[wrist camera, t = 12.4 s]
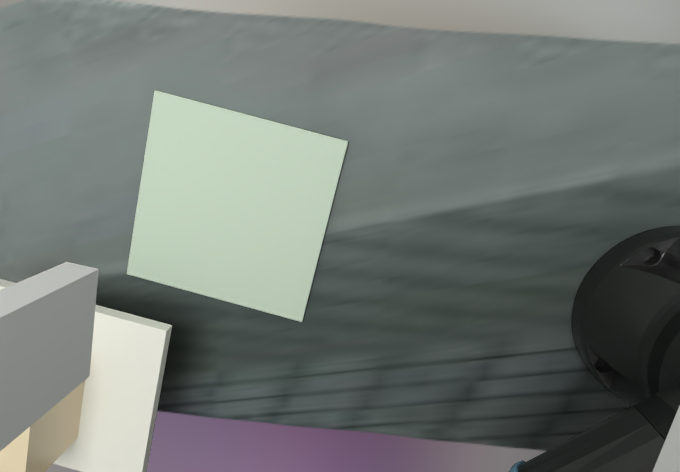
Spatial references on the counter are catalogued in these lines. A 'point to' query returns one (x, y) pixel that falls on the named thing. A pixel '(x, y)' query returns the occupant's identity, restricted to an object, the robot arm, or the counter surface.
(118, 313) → the board
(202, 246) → the mat
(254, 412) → the counter surface
